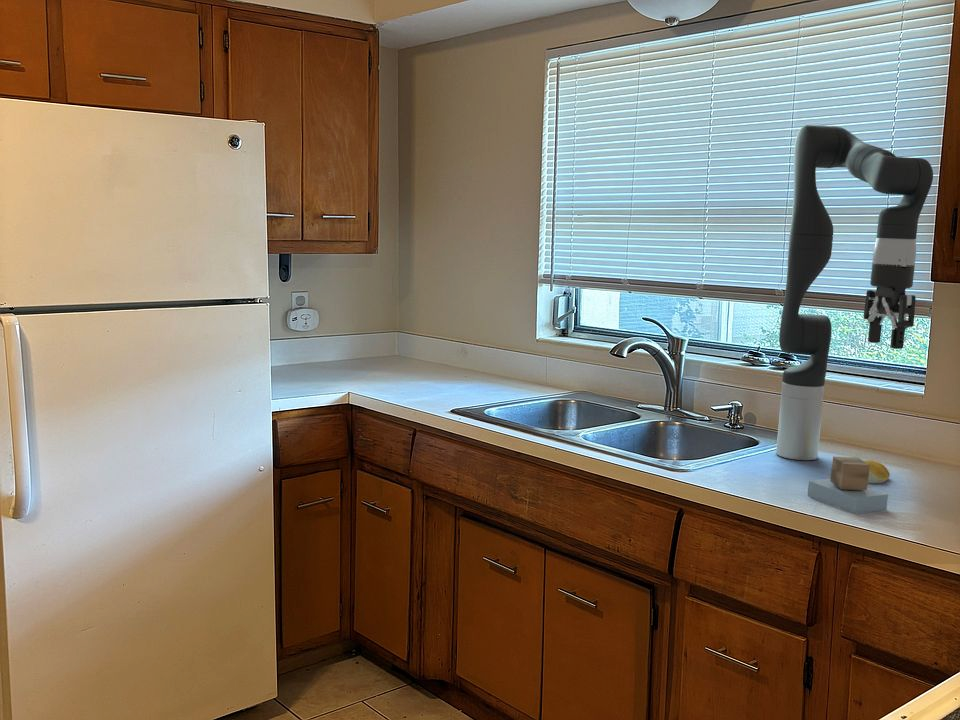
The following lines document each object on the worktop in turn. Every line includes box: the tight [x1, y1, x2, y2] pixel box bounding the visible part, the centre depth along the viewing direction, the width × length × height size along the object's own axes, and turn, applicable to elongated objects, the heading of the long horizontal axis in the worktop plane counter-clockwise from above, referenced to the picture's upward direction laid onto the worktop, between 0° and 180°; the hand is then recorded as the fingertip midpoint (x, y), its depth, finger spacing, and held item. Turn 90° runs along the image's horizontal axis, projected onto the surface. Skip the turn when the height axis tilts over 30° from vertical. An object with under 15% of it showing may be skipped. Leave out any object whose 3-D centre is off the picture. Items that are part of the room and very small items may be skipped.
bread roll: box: [864, 460, 891, 484], centre depth 191 cm, size 8×9×4 cm
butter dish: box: [807, 478, 889, 515], centre depth 173 cm, size 12×8×4 cm, turn 24°
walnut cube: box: [829, 456, 870, 490], centre depth 172 cm, size 5×5×5 cm
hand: (884, 345), depth 175 cm, fingers open, 8 cm apart
